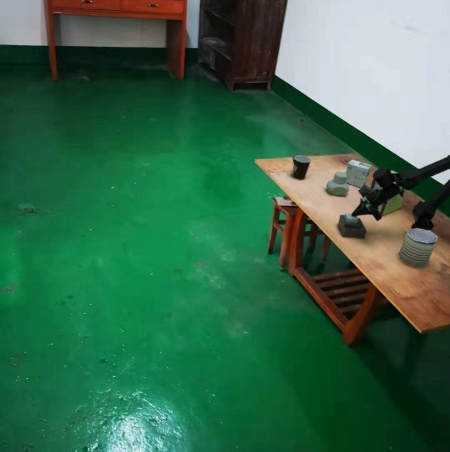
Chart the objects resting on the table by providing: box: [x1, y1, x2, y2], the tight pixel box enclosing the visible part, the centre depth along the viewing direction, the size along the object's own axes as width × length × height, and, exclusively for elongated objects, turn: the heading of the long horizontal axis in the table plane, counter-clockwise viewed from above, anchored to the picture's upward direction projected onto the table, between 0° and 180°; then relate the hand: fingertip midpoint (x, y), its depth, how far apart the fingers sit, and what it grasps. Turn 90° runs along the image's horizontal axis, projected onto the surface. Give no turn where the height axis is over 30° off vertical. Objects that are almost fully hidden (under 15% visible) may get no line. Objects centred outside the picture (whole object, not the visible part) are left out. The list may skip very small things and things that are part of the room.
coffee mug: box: [292, 154, 312, 180], centre depth 236 cm, size 12×9×10 cm
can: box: [398, 228, 439, 268], centre depth 180 cm, size 11×11×12 cm
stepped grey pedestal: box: [337, 214, 367, 239], centre depth 195 cm, size 10×10×6 cm
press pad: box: [344, 212, 359, 223], centre depth 193 cm, size 4×4×2 cm
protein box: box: [370, 170, 408, 217], centre depth 214 cm, size 10×15×16 cm
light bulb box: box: [344, 159, 372, 188], centre depth 234 cm, size 11×7×11 cm, turn 58°
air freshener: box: [326, 171, 350, 196], centre depth 223 cm, size 11×8×10 cm
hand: (351, 215), depth 192 cm, fingers closed, pressing on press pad
